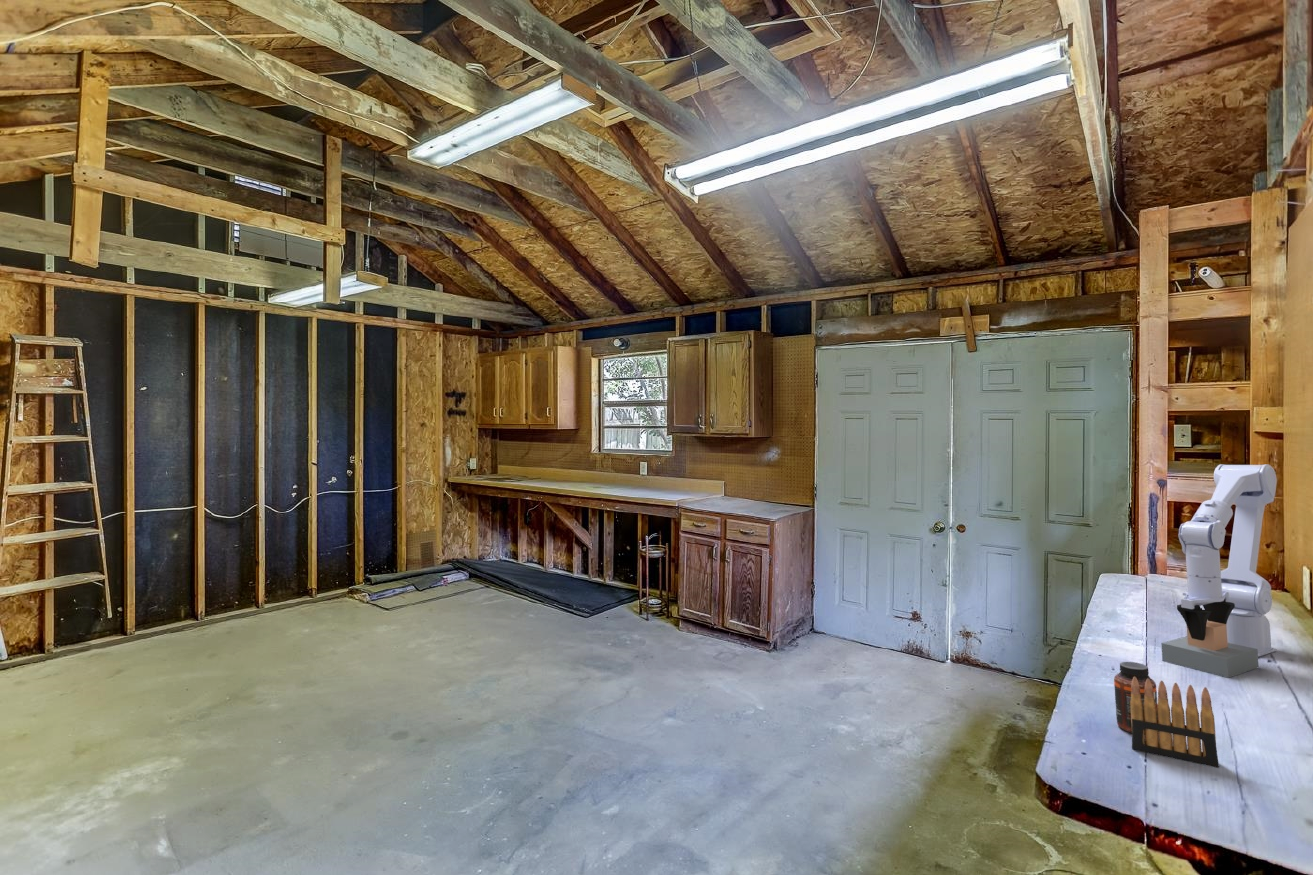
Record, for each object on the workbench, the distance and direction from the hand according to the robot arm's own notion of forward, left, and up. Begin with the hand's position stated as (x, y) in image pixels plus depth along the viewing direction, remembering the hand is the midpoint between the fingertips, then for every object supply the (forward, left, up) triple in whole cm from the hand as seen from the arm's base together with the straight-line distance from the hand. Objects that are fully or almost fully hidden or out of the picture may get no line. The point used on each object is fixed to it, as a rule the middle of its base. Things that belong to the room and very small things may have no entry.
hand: (1207, 636), depth 137 cm
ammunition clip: (+51, +19, -6) cm, 55 cm away
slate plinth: (0, 0, -6) cm, 6 cm away
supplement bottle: (+46, +11, -6) cm, 48 cm away
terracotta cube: (0, 0, -2) cm, 2 cm away
